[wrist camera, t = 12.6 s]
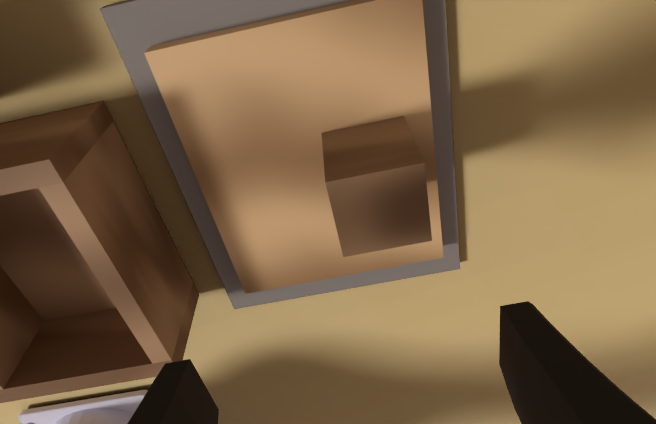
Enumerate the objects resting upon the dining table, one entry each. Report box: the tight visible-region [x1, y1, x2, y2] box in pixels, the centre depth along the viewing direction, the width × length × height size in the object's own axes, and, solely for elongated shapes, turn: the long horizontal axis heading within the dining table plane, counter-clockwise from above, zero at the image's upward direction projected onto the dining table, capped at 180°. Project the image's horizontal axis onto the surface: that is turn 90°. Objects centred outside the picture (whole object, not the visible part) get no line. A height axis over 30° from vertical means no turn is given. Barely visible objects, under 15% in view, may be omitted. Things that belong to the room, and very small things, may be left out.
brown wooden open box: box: [0, 101, 199, 403], centre depth 17 cm, size 14×8×5 cm, turn 11°
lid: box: [144, 0, 444, 294], centre depth 17 cm, size 11×9×4 cm
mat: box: [100, 0, 460, 309], centre depth 19 cm, size 14×11×1 cm
